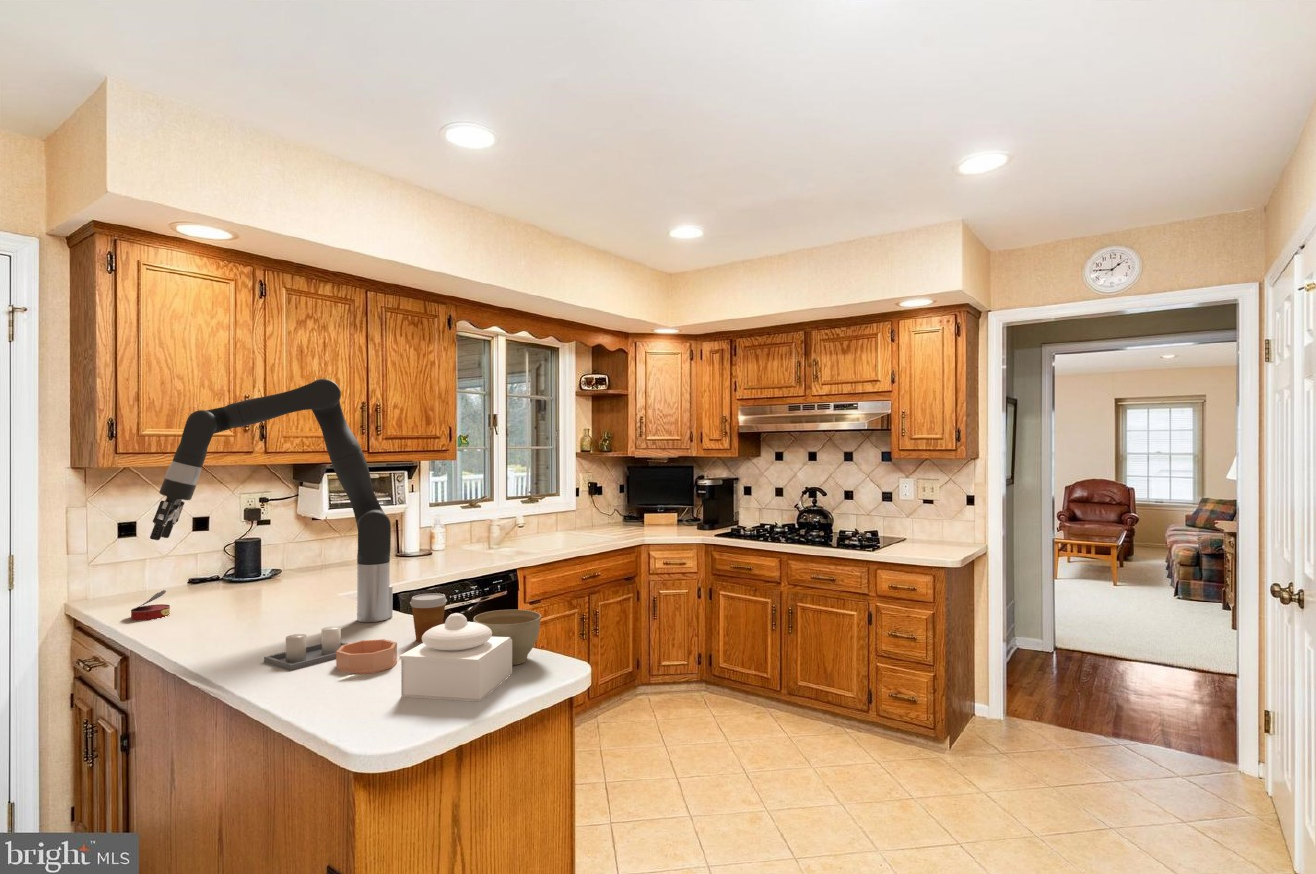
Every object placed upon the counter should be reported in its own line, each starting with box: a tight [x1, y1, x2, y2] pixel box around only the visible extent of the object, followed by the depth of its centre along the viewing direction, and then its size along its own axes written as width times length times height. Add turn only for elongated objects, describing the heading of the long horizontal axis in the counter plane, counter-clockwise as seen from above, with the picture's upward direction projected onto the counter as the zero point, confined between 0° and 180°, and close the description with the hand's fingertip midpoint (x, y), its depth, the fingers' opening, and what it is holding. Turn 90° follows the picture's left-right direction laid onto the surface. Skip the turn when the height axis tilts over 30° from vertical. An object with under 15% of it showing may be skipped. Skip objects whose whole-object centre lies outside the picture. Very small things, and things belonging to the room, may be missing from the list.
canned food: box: [130, 589, 171, 622], centre depth 218 cm, size 11×10×10 cm
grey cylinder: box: [285, 633, 307, 664], centre depth 169 cm, size 4×4×6 cm
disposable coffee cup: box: [409, 593, 448, 643], centre depth 188 cm, size 10×10×12 cm
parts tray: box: [263, 641, 349, 671], centre depth 172 cm, size 18×12×2 cm, turn 146°
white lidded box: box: [399, 612, 513, 702], centre depth 153 cm, size 18×18×16 cm
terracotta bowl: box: [335, 638, 398, 676], centre depth 167 cm, size 13×13×4 cm
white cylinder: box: [321, 625, 342, 655], centre depth 176 cm, size 4×4×6 cm
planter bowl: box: [472, 609, 542, 666], centre depth 170 cm, size 16×16×11 cm
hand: (159, 538), depth 188 cm, fingers open, 8 cm apart
